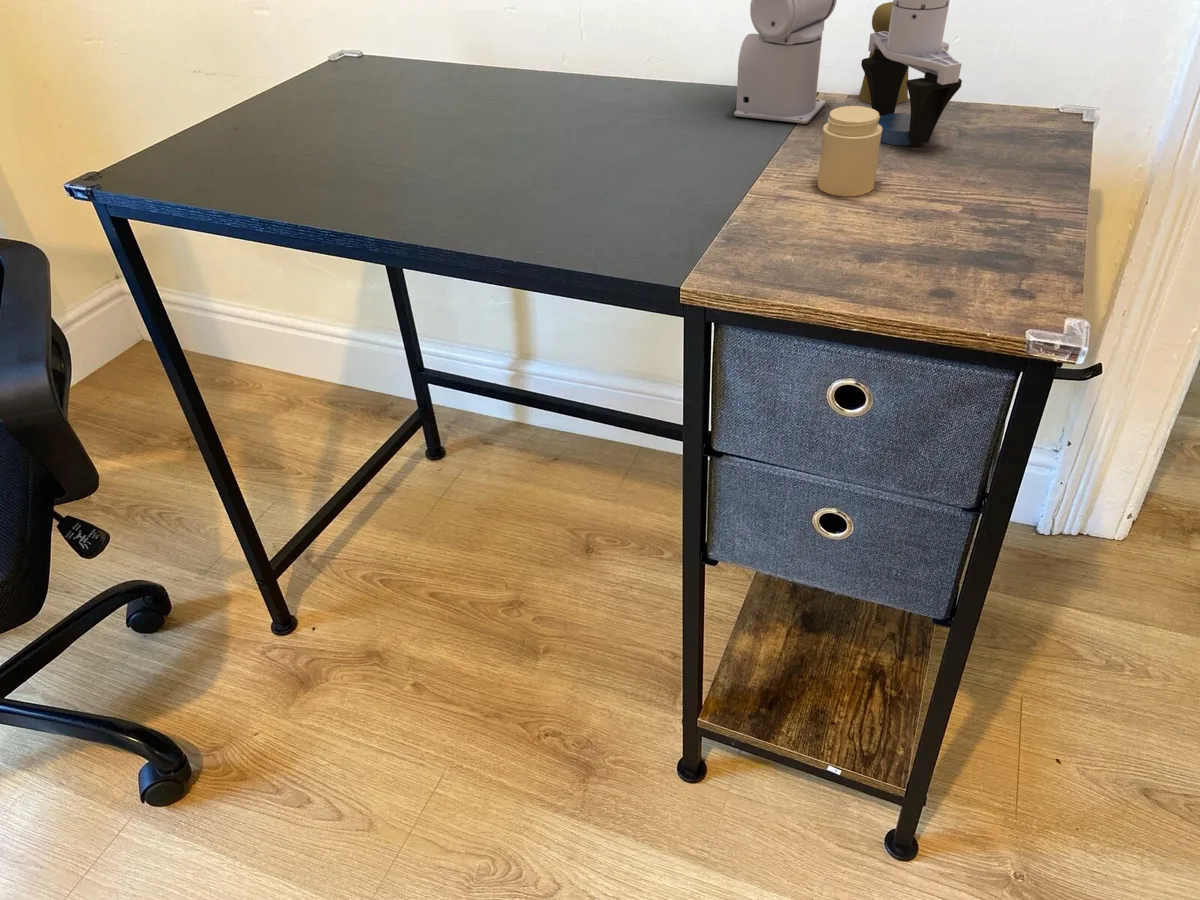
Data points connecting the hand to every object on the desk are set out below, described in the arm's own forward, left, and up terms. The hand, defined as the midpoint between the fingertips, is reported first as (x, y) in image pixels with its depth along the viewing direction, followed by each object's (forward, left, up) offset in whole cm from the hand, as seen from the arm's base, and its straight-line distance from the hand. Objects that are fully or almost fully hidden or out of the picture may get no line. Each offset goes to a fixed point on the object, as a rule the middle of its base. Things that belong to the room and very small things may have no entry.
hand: (900, 131), depth 101 cm
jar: (-2, -16, 0) cm, 16 cm away
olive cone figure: (-5, +13, -1) cm, 14 cm away
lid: (0, 0, +1) cm, 1 cm away
